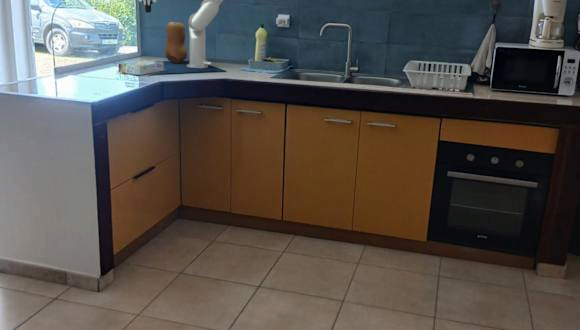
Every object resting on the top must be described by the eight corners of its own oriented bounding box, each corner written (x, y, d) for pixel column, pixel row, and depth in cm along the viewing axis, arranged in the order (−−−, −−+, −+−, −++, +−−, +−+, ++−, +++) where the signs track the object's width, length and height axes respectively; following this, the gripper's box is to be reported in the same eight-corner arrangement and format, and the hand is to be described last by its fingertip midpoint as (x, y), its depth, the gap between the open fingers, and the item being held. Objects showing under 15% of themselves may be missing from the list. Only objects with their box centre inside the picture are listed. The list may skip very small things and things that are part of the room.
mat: (167, 70, 346) (167, 69, 346) (148, 76, 324) (148, 75, 323) (145, 68, 349) (145, 67, 349) (124, 74, 327) (124, 73, 327)
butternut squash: (190, 62, 380) (189, 21, 372) (183, 65, 367) (183, 23, 360) (168, 60, 382) (168, 20, 374) (161, 63, 369) (160, 22, 361)
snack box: (118, 73, 329) (140, 75, 323) (117, 62, 327) (140, 65, 321) (142, 68, 347) (164, 70, 341) (142, 58, 345) (164, 60, 339)
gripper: (161, -21, 342) (163, 12, 347) (137, -22, 345) (139, 11, 351) (155, -21, 335) (157, 13, 340) (131, -22, 338) (133, 12, 344)
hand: (148, 12), depth 345 cm, fingers closed
